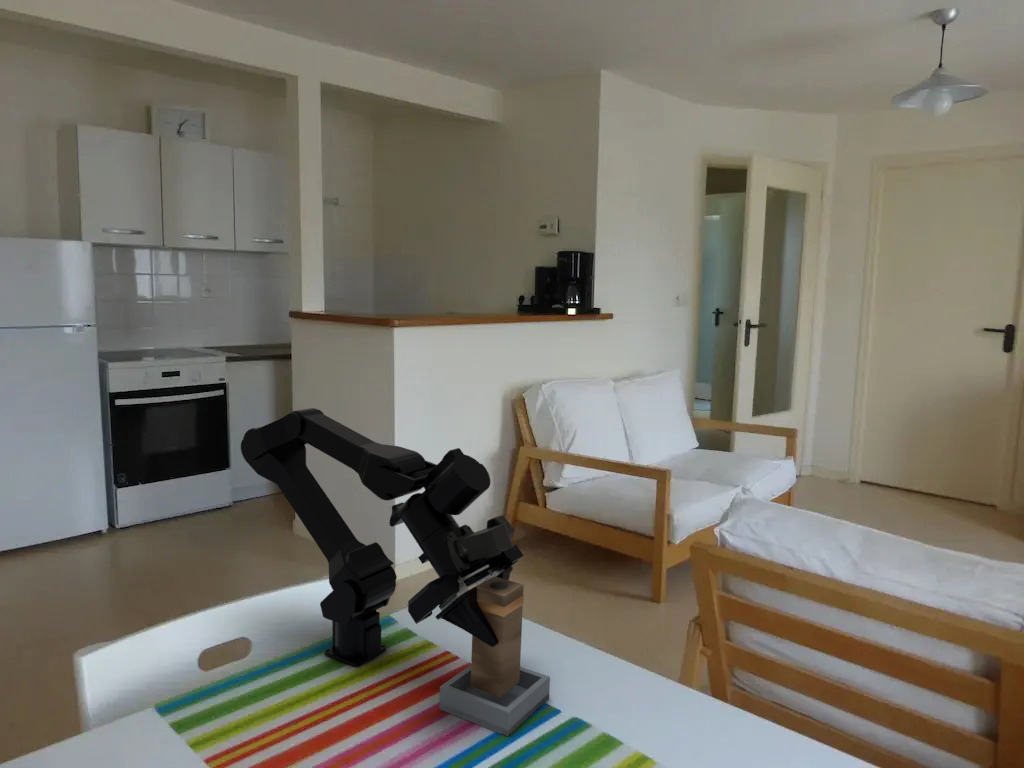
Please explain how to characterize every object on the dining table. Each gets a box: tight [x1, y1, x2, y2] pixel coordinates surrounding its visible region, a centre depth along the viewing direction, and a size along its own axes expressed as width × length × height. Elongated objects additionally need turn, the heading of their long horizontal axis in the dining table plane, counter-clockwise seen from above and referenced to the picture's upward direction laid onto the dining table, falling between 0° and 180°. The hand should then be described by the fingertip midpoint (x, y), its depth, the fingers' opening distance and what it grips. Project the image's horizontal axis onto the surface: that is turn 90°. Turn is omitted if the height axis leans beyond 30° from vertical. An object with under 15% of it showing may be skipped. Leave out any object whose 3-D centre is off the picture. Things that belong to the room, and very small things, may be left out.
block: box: [470, 576, 525, 697], centre depth 94 cm, size 5×5×13 cm
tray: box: [439, 664, 551, 737], centre depth 95 cm, size 10×10×3 cm
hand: (506, 637), depth 93 cm, fingers closed on block, 4 cm apart
